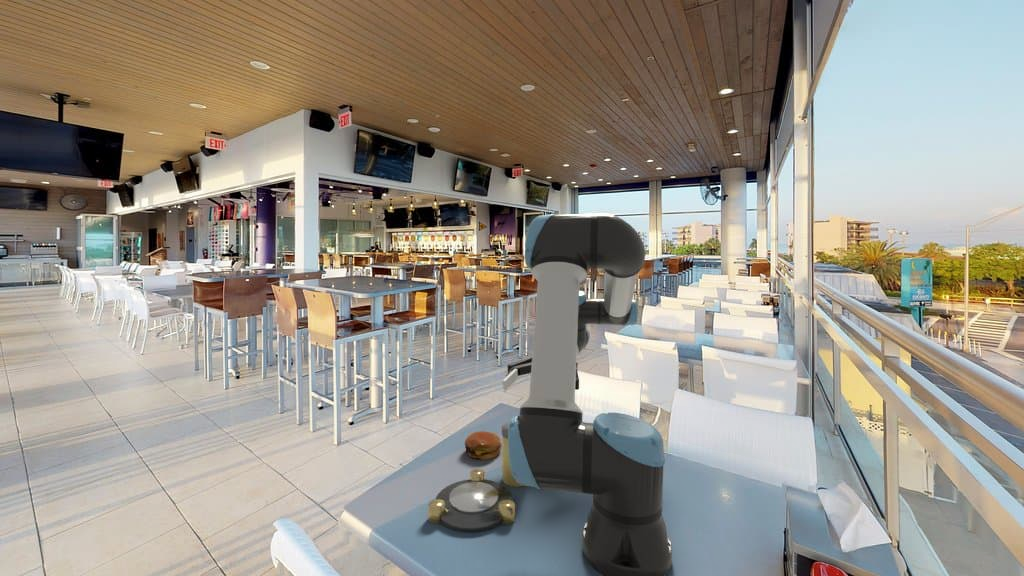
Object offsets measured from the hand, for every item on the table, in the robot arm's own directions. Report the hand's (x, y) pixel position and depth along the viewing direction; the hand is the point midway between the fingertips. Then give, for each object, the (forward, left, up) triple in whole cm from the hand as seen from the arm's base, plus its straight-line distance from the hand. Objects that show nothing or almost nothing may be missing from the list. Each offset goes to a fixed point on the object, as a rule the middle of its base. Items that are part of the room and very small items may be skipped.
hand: (528, 391), depth 101 cm
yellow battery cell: (-4, +6, -19) cm, 20 cm away
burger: (+12, +6, -19) cm, 24 cm away
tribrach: (-9, +19, -19) cm, 28 cm away
